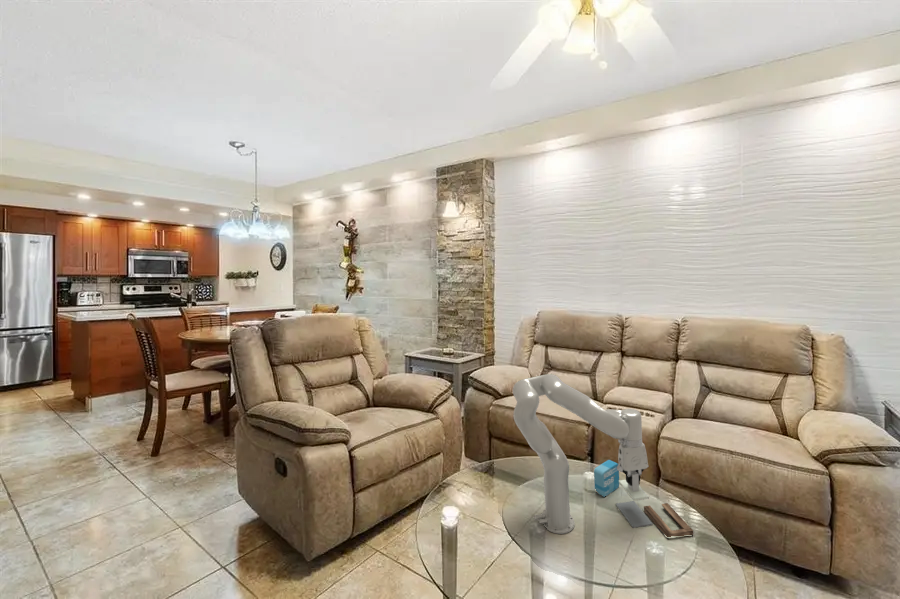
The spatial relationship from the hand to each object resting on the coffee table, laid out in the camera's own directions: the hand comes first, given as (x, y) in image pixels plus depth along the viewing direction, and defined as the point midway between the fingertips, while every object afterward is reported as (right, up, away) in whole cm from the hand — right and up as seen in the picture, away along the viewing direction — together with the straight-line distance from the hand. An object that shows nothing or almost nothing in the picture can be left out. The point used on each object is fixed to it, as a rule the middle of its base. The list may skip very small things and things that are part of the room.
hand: (633, 482), depth 163 cm
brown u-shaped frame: (+12, -14, -4) cm, 18 cm away
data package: (-3, -12, +19) cm, 22 cm away
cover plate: (0, -3, 0) cm, 3 cm away
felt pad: (+1, -14, +2) cm, 14 cm away
